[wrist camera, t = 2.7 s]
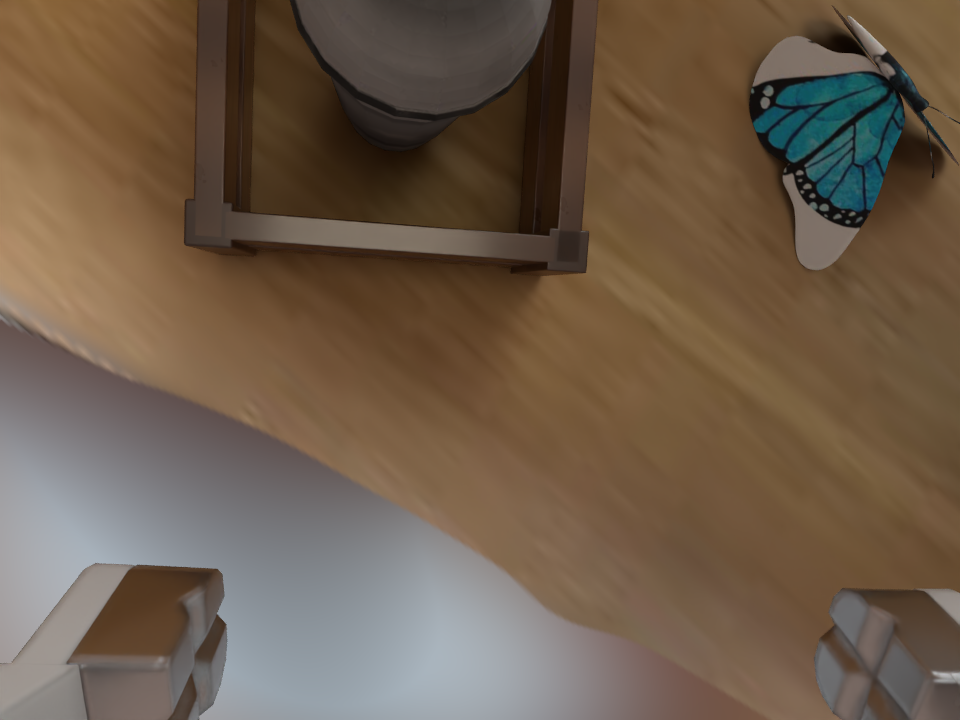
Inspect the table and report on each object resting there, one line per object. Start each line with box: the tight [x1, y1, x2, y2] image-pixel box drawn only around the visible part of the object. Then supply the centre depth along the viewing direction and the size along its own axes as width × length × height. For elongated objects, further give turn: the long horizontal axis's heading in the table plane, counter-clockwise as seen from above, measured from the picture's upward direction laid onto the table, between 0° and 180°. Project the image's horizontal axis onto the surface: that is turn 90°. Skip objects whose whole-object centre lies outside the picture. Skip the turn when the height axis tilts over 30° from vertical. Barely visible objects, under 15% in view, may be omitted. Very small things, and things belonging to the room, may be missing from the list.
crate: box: [184, 0, 598, 276], centre depth 27 cm, size 15×15×6 cm
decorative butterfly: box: [749, 5, 960, 270], centre depth 32 cm, size 10×6×10 cm
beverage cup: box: [290, 0, 552, 152], centre depth 20 cm, size 7×7×20 cm
